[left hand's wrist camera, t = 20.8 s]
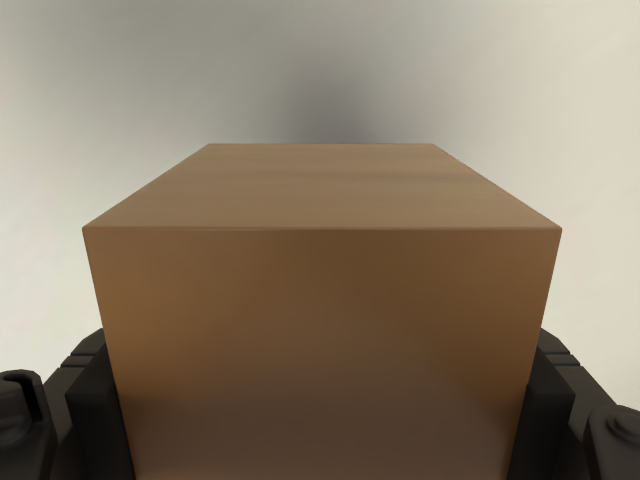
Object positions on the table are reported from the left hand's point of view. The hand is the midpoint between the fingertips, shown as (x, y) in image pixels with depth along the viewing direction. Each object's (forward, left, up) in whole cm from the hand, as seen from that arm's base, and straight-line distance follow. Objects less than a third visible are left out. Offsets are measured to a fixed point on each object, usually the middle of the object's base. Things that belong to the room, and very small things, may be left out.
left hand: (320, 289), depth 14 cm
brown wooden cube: (0, 0, -2) cm, 2 cm away
